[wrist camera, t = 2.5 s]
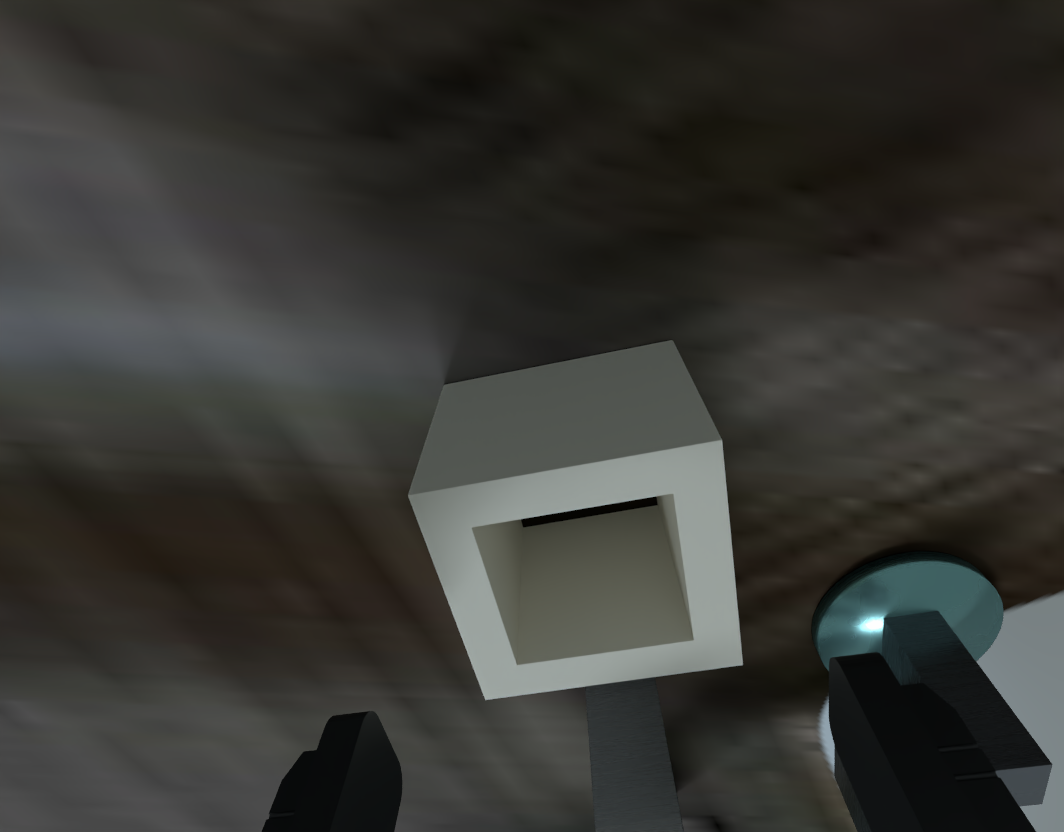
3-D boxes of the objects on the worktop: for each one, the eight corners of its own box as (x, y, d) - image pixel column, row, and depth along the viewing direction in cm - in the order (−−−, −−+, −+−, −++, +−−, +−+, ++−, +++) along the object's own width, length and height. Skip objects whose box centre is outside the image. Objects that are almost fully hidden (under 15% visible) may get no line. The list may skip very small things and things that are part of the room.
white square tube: (443, 384, 17) (408, 495, 12) (672, 339, 16) (721, 439, 12) (498, 558, 19) (485, 699, 15) (695, 526, 19) (742, 664, 14)
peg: (810, 566, 19) (899, 730, 14) (1001, 538, 19) (1161, 699, 14) (812, 687, 22) (889, 861, 17) (981, 665, 21) (1111, 839, 16)
